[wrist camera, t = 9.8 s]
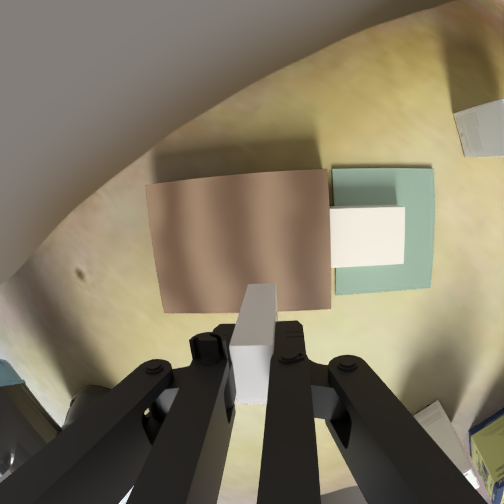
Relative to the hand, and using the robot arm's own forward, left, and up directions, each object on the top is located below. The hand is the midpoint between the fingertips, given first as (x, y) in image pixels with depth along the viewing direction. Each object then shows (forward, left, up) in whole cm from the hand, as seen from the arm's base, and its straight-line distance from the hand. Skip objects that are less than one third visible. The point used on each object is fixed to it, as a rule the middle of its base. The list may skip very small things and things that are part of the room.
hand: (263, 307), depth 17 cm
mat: (+12, 0, -18) cm, 22 cm away
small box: (+26, +12, -18) cm, 34 cm away
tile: (+10, 0, -18) cm, 20 cm away
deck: (-4, 0, -18) cm, 18 cm away
